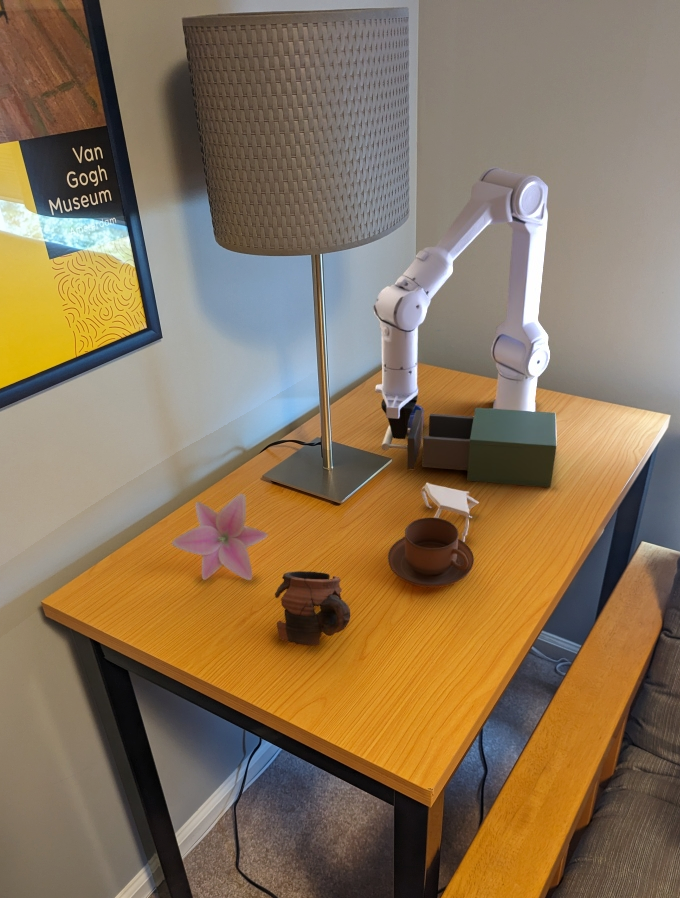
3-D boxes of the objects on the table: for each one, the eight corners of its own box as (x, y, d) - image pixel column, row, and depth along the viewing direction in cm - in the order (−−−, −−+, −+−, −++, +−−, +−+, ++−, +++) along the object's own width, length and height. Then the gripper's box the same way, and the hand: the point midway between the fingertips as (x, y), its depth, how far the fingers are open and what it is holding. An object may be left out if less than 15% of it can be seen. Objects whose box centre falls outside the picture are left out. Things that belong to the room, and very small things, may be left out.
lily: (169, 571, 107) (160, 543, 99) (209, 506, 112) (204, 475, 104) (243, 606, 106) (240, 581, 98) (280, 539, 111) (281, 510, 103)
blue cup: (397, 421, 141) (397, 402, 139) (424, 423, 140) (425, 404, 138) (392, 434, 137) (392, 415, 135) (421, 436, 136) (421, 417, 134)
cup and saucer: (482, 552, 108) (485, 517, 104) (459, 604, 99) (461, 567, 95) (404, 535, 111) (405, 501, 108) (375, 583, 102) (374, 548, 99)
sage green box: (467, 480, 124) (469, 439, 119) (472, 446, 133) (475, 407, 128) (550, 487, 121) (556, 445, 117) (550, 452, 131) (555, 412, 126)
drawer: (379, 467, 126) (379, 435, 122) (389, 437, 134) (389, 407, 131) (481, 475, 123) (484, 443, 120) (485, 445, 131) (487, 414, 128)
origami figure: (494, 522, 114) (496, 495, 111) (462, 547, 109) (464, 520, 106) (431, 495, 120) (432, 469, 117) (399, 518, 115) (399, 491, 112)
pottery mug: (257, 635, 95) (261, 571, 95) (309, 626, 103) (313, 567, 102) (324, 657, 88) (329, 588, 87) (375, 646, 95) (381, 582, 94)
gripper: (383, 344, 126) (383, 416, 134) (366, 380, 115) (368, 456, 123) (424, 346, 125) (422, 418, 133) (412, 382, 114) (411, 459, 122)
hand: (399, 437), depth 128 cm, fingers closed
